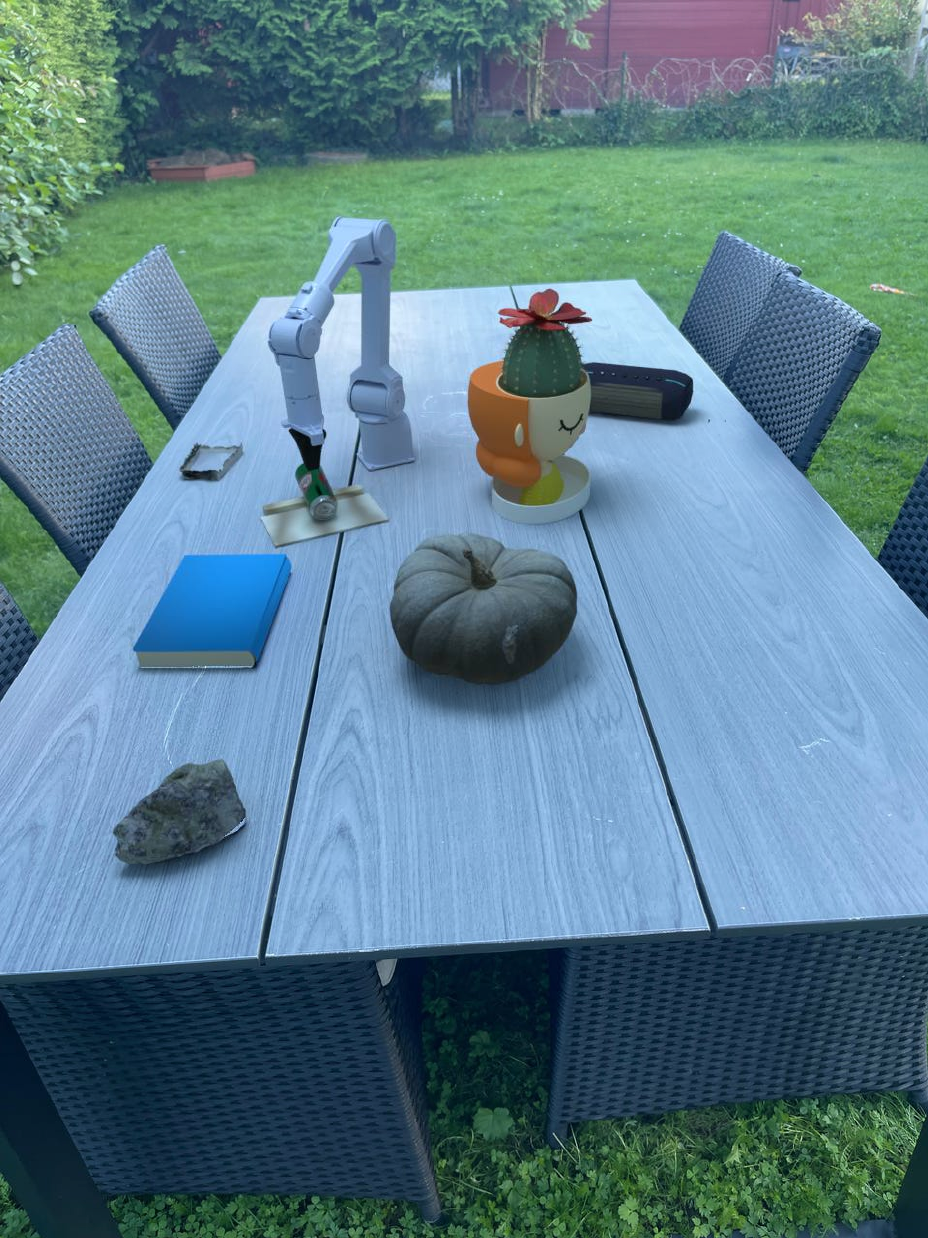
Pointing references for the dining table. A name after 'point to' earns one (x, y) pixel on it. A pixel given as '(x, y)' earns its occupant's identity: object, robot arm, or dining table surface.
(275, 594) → the book
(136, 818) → the mineral rock
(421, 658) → the gourd
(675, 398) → the portable speaker
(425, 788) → the dining table surface
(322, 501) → the soda can
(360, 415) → the robot arm
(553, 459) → the potted cactus
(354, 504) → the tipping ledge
